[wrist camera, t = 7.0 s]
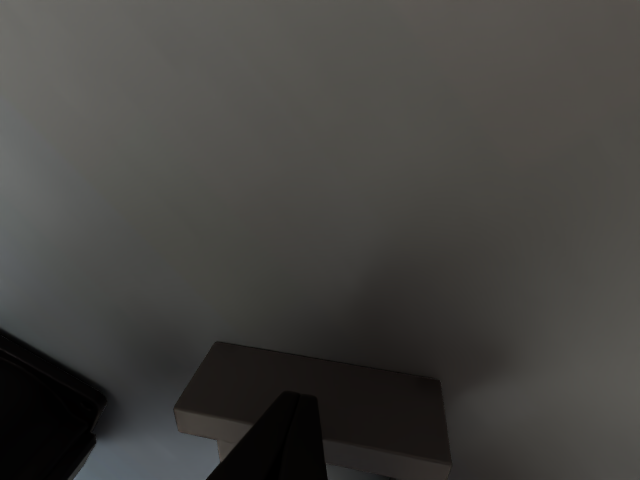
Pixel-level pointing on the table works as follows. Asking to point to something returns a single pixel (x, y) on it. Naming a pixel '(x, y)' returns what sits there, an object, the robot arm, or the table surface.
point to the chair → (323, 409)
